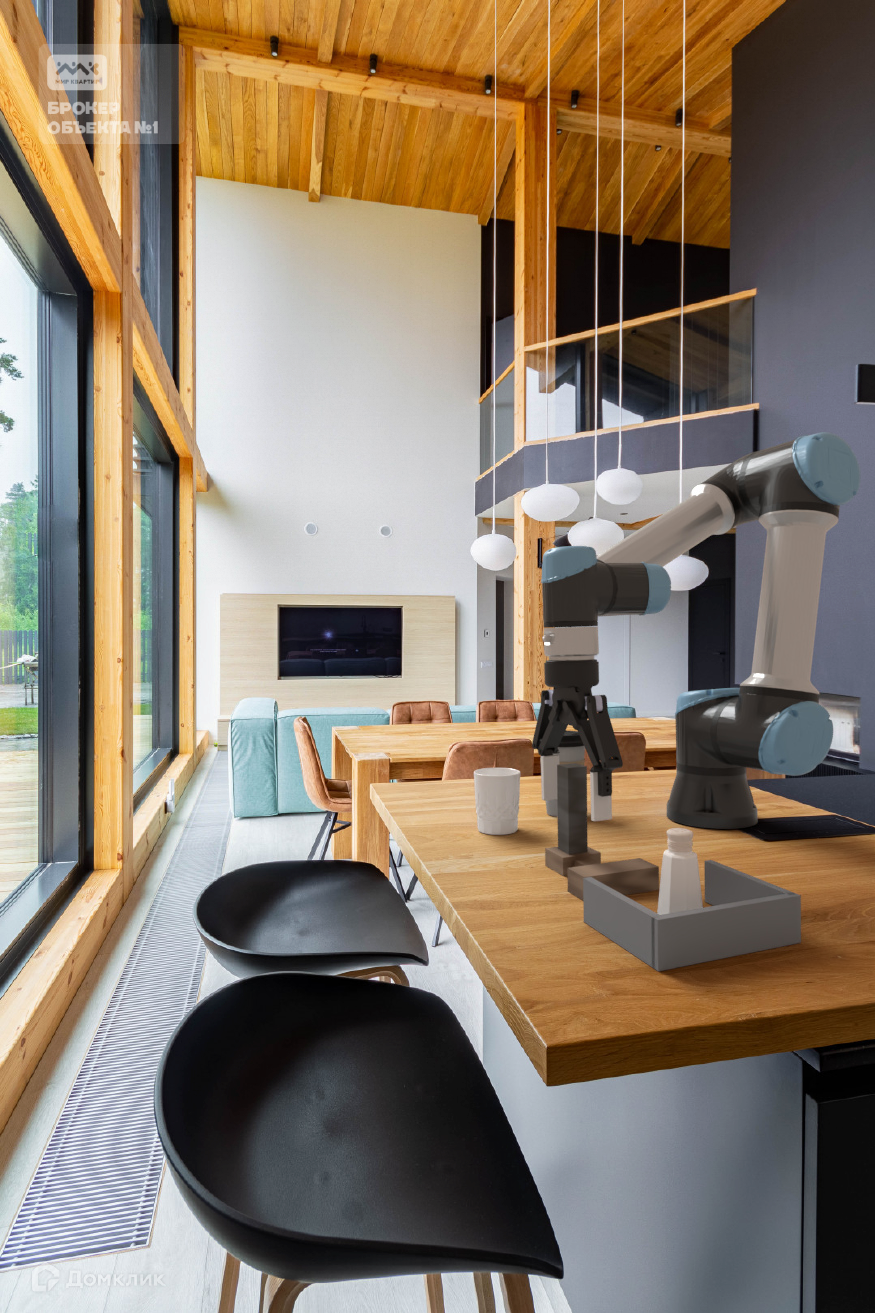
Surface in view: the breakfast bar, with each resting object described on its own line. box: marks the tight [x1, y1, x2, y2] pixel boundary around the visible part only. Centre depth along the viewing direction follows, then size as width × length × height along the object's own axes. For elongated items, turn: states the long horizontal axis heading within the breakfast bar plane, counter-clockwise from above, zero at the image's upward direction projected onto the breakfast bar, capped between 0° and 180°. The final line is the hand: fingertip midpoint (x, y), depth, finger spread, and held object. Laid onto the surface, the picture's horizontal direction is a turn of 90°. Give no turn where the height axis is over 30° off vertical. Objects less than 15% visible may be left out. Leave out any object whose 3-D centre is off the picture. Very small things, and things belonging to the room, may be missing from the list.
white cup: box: [473, 767, 521, 836], centre depth 124 cm, size 8×8×10 cm
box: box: [582, 859, 802, 972], centre depth 80 cm, size 18×14×5 cm
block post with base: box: [544, 763, 660, 901], centre depth 98 cm, size 11×14×14 cm
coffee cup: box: [539, 729, 586, 818], centre depth 135 cm, size 9×9×15 cm
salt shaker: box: [656, 827, 704, 915], centre depth 80 cm, size 5×5×11 cm
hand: (574, 809), depth 102 cm, fingers open, 13 cm apart
